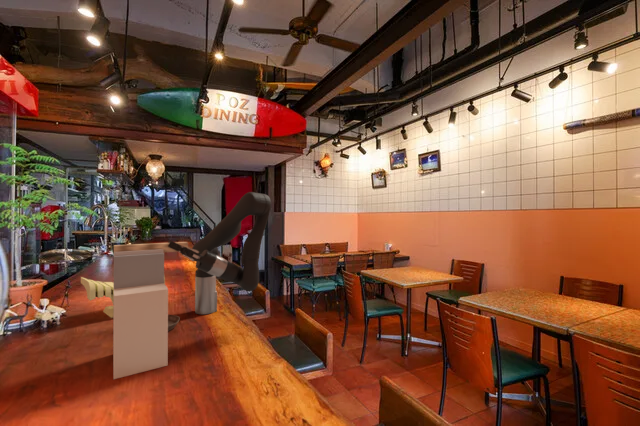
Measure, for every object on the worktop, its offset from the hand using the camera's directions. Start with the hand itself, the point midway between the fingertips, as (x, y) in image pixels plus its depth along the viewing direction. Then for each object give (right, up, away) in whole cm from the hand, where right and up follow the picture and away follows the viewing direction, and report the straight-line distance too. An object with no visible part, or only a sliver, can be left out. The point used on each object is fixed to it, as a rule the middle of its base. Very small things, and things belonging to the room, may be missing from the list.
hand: (168, 243), depth 106 cm
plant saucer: (-14, -37, +17) cm, 43 cm away
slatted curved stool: (-39, -36, +36) cm, 65 cm away
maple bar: (-4, -3, -3) cm, 6 cm away
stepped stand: (-5, -37, -8) cm, 38 cm away
